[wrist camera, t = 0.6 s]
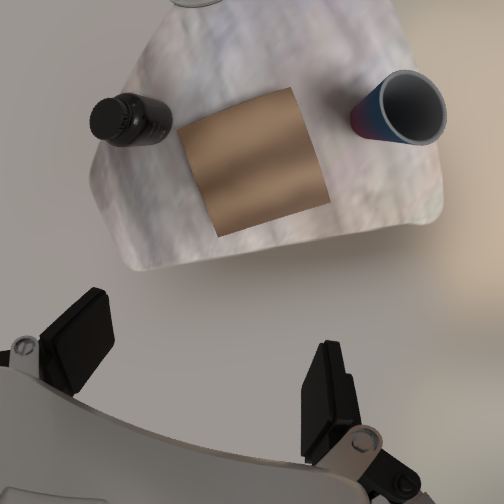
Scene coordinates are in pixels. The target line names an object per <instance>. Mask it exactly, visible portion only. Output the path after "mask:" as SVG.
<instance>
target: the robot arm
mask: <svg viewBox="0 0 504 504" xmlns="http://www.w3.org/2000/svg"><path fill="white" fill-rule="evenodd" d="M170 1H171V2H173V3H174V4H176V5H179V6H183V7H202V6H206V5H210V4H213V3H216V2H219V1H221V0H170ZM114 342H115V338H114V332H113V326H112V319H111V312H110V306H109V297H108V295H107V294H106V292H105V291H104V290H102V289H99V288H95V287H93V288H91V289H90V290H89V291H88V292H87V293H85V294H84V295H83V296H82V297H81V298H80V299H79V300H78V301H76V302H75V303H74V304H73V305H72V306H71V307H70V308H68V309H67V310H66V311H65V312H64V313H63V314H62V315H61V316H60V317H59V318H57V320H55V321H54V322H53V323H52V324H51V325H50V326H49V327H48V328H47V329H46V330H45V331H44V332H43V333H42V334H40V340H39V341H37V340H36V338H34V337H32V336H22V337H19V338H18V339H16V340H15V341H14V342H13V344H12V346H11V350H6V351H0V504H435V503H434V501H433V500H432V499H431V498H430V496H429V495H428V494H427V493H426V492H424V493H422V491H421V490H420V488H421V480H420V477H419V476H418V474H417V473H416V472H414V471H413V470H411V469H410V468H408V467H407V466H406V465H404V464H403V463H401V462H400V461H398V460H397V459H396V458H394V457H393V456H391V455H390V454H388V453H387V452H386V451H384V450H383V449H382V444H383V440H382V437H381V435H380V433H379V432H378V431H377V430H376V429H375V428H373V427H370V426H367V425H362V423H361V417H360V412H359V406H358V401H357V396H356V391H355V386H354V381H353V377H352V375H351V374H347V373H346V372H345V367H344V362H343V357H342V352H341V347H340V343H339V342H337V341H330V340H326V341H325V342H324V343H320V344H319V346H318V349H317V351H316V354H315V356H314V359H313V361H312V364H311V366H310V368H309V371H308V373H307V376H306V378H305V380H304V382H303V385H302V389H301V456H303V457H305V463H309V464H312V466H309V465H305V464H296V463H290V462H282V461H274V460H268V459H261V458H254V457H248V456H243V455H238V454H232V453H227V452H222V451H217V450H213V449H209V448H205V447H200V446H197V445H193V444H189V443H186V442H182V441H179V440H176V439H172V438H169V437H166V436H163V435H160V434H157V433H154V432H151V431H148V430H145V429H142V428H139V427H137V426H134V425H132V424H129V423H127V422H124V421H122V420H119V419H117V418H115V417H112V416H110V415H108V414H105V413H103V412H101V411H99V410H96V409H94V408H92V407H90V406H88V405H86V404H84V403H82V402H80V401H78V400H76V399H74V398H72V397H73V396H74V394H75V393H78V392H80V390H81V389H82V387H83V386H84V385H85V383H86V382H87V380H88V379H89V378H90V376H91V375H92V374H93V372H94V371H95V370H96V368H97V367H98V366H99V364H100V362H101V361H102V360H103V359H104V357H105V356H106V355H107V354H108V352H109V351H110V350H111V348H112V347H113V345H114Z"/></svg>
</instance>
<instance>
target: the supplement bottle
mask: <svg viewBox="0 0 504 504" xmlns="http://www.w3.org/2000/svg"><path fill="white" fill-rule="evenodd" d="M172 122H173V118H172V113H171V110H170V109H169V107H168V106H167V105H166V104H165V103H163V102H161V101H159V100H156V99H152V98H149V97H145V96H141V95H137V94H133V93H123V94H120V95H117V96H116V97H114V98H107V99H103V100H101V101H100V102H98V103H97V105H95V107H94V108H93V111H92V112H91V116H90V129H91V132H92V133H93V135H95V137H97V138H98V139H101V140H106V141H107V142H108V143H109V144H111V145H113V146H116V147H132V146H146V145H154V144H157V143H159V142H161V141H162V140H163V139H165V138H166V136H167V135H168V134H169V132H170V130H171V127H172Z"/></svg>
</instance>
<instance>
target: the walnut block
mask: <svg viewBox="0 0 504 504" xmlns="http://www.w3.org/2000/svg"><path fill="white" fill-rule="evenodd" d="M177 132H178V135H179V137H180V140H181V143H182V145H183V148H184V151H185V153H186V156H187V159H188V161H189V164H190V167H191V169H192V172H193V175H194V177H195V180H196V182H197V185H198V188H199V190H200V193H201V195H202V198H203V200H204V203H205V206H206V208H207V211H208V213H209V216H210V218H211V221H212V223H213V226H214V228H215V231H216V233H217V236H218V237H221V236H224V235H227V234H230V233H234V232H237V231H240V230H243V229H246V228H249V227H252V226H256V225H259V224H262V223H265V222H268V221H271V220H275V219H278V218H281V217H284V216H288V215H291V214H294V213H297V212H301V211H304V210H307V209H310V208H314V207H317V206H320V205H324V204H327V203H330V202H331V201H330V198H329V195H328V191H327V188H326V185H325V181H324V178H323V175H322V172H321V169H320V166H319V163H318V160H317V157H316V154H315V151H314V148H313V145H312V142H311V139H310V136H309V134H308V131H307V128H306V125H305V123H304V120H303V117H302V115H301V112H300V109H299V107H298V104H297V102H296V99H295V97H294V94H293V92H292V89H291V87H289V88H286V89H282V90H279V91H276V92H273V93H270V94H267V95H264V96H261V97H258V98H255V99H252V100H249V101H246V102H244V103H241V104H238V105H236V106H233V107H230V108H228V109H225V110H223V111H220V112H218V113H215V114H213V115H210V116H208V117H206V118H203V119H201V120H199V121H197V122H194V123H192V124H190V125H188V126H185V127H183V128H181V129H179V130H177Z"/></svg>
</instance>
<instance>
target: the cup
mask: <svg viewBox="0 0 504 504" xmlns="http://www.w3.org/2000/svg"><path fill="white" fill-rule="evenodd" d="M350 120H351V125H352V127H353V129H354V131H355V132H356V133H357V134H358V135H359V136H361V137H363V138H366V139H373V140H382V141H390V142H398V143H405V144H412V145H421V146H422V145H428V144H431V143H433V142H435V141H436V140H437V139H438V138H439V137H440V136H441V134H442V133H443V131H444V129H445V126H446V122H447V111H446V106H445V102H444V99H443V97H442V95H441V93H440V91H439V90H438V88H437V87H436V86H435V85H434V84H433V83H432V81H430V80H429V79H428V78H427V77H425V76H424V75H422V74H420V73H418V72H415V71H411V70H399V71H396V72H393V73H392V74H390V75H389V76H388V77H387V78H385V79H384V80H383V81H382V82H381V83H380V84H379V85H378V86H377V87H376V88H375V89H374V90H373V91H372V92H371V93H370V94H369V95H368V96H367V97H365V98H364V99H363V100H362V101H361V102H360V103H359V104H358V105H357V106H356V107H355V108H354V109H353V111H352V113H351V118H350Z"/></svg>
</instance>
